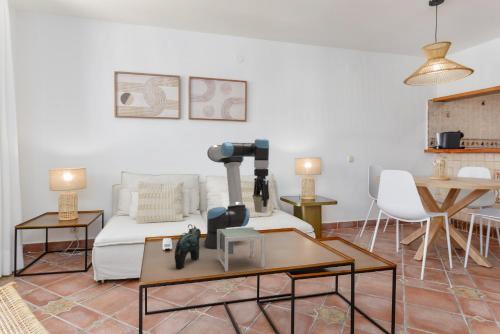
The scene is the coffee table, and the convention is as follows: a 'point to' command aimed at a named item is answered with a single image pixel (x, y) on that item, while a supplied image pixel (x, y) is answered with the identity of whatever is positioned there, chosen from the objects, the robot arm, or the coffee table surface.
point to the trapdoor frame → (240, 238)
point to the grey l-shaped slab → (232, 234)
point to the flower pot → (258, 202)
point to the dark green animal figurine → (187, 246)
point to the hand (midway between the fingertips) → (260, 211)
